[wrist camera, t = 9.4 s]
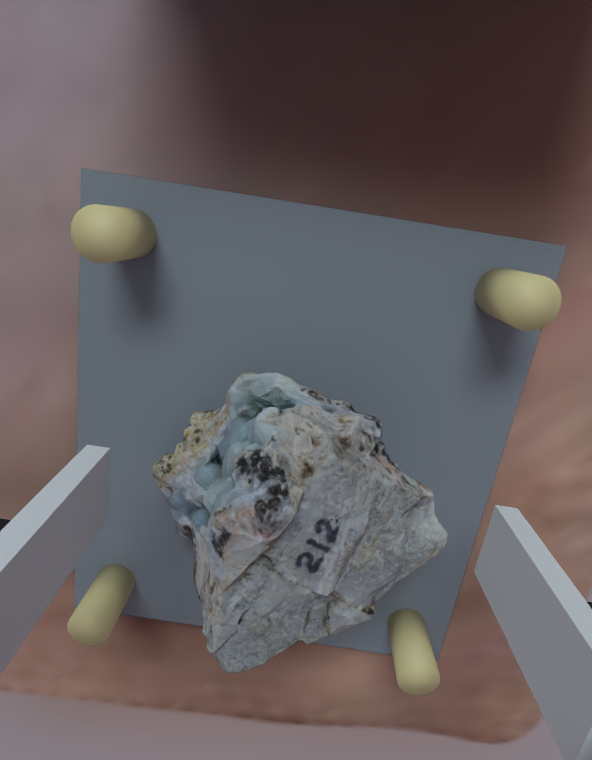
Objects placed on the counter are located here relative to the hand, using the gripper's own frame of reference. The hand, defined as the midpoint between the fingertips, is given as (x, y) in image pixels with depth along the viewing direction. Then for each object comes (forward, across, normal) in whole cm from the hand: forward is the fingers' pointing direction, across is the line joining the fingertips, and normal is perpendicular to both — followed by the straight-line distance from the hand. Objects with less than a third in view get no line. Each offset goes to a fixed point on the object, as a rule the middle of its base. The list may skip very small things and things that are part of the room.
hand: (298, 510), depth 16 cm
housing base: (+6, -1, 0) cm, 6 cm away
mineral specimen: (+5, 0, -1) cm, 5 cm away
